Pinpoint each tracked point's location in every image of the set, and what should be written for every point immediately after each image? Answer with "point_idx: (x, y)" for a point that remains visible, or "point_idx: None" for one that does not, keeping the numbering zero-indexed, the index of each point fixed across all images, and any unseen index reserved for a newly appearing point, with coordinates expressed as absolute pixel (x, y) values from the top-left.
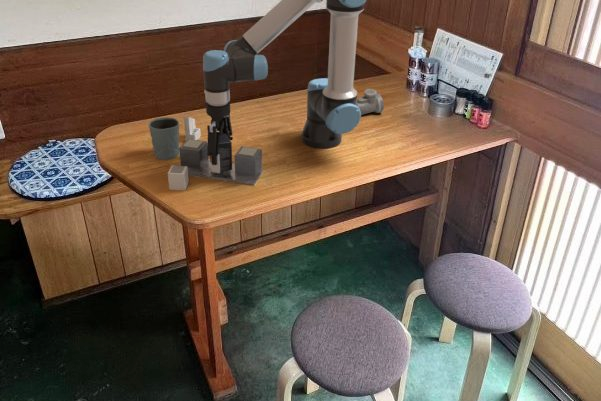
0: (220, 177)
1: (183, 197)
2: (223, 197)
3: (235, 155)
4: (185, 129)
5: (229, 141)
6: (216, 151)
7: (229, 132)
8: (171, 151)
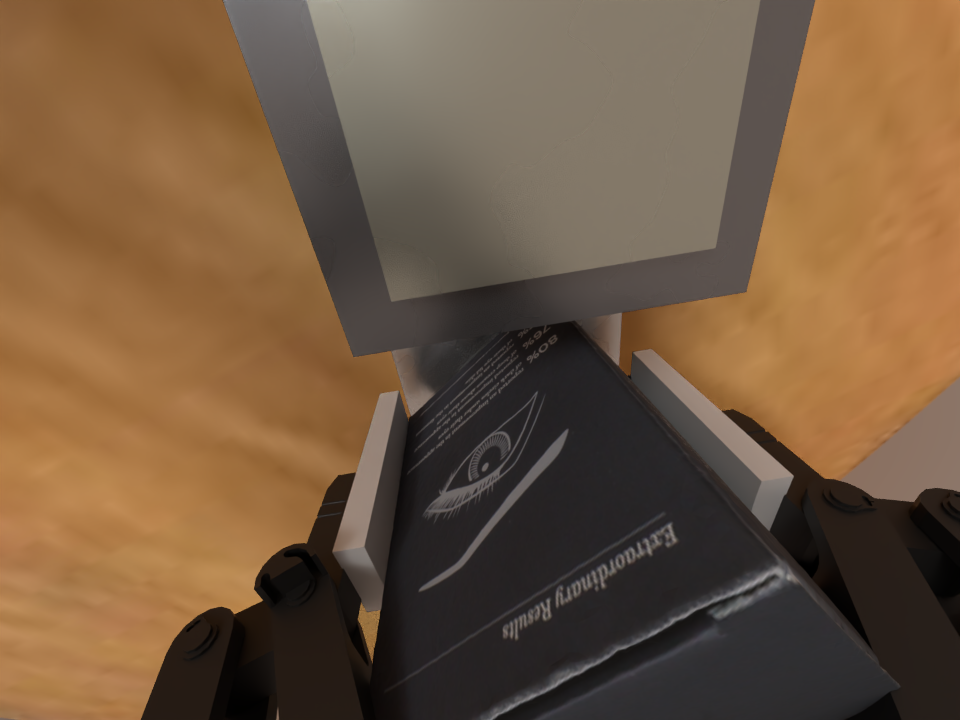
0: (618, 330)
1: (832, 401)
2: (851, 177)
3: (731, 278)
4: (278, 718)
5: (789, 615)
6: (899, 549)
7: (226, 706)
8: None
